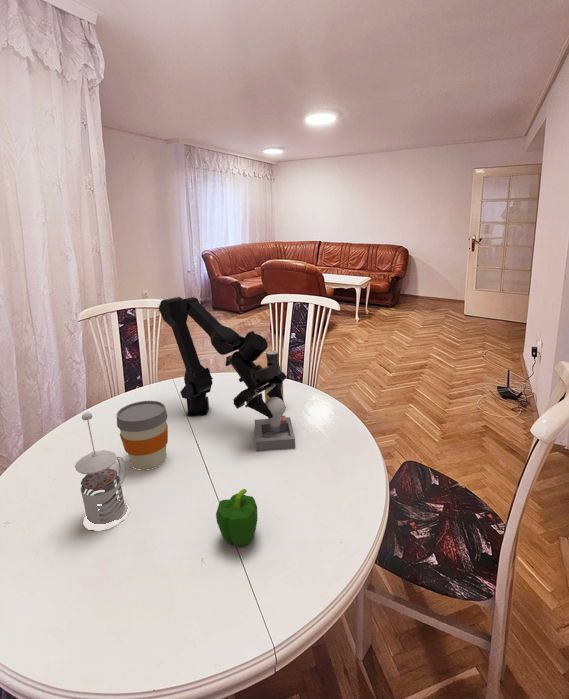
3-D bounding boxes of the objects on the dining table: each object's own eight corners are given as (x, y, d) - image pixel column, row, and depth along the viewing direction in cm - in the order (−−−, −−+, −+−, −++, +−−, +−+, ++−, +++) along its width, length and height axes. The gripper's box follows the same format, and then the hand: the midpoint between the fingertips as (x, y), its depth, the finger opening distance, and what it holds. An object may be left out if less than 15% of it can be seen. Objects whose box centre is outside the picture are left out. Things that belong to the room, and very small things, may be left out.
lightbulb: (283, 438, 113) (282, 403, 109) (262, 436, 114) (261, 401, 111) (287, 428, 118) (286, 394, 115) (267, 426, 120) (266, 392, 116)
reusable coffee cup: (140, 446, 115) (132, 398, 111) (180, 450, 113) (174, 401, 108) (114, 472, 104) (104, 420, 99) (158, 476, 101) (150, 423, 97)
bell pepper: (231, 560, 75) (227, 516, 72) (211, 534, 82) (207, 493, 79) (268, 539, 80) (266, 497, 77) (247, 517, 86) (244, 477, 83)
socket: (256, 451, 111) (255, 439, 110) (255, 428, 123) (254, 417, 122) (295, 448, 112) (295, 436, 111) (290, 425, 124) (290, 414, 123)
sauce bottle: (283, 411, 134) (281, 355, 128) (264, 412, 134) (262, 356, 128) (284, 403, 140) (282, 349, 134) (266, 403, 140) (263, 349, 134)
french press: (71, 525, 86) (47, 420, 78) (112, 492, 96) (94, 396, 88) (107, 536, 82) (84, 428, 75) (145, 501, 92) (129, 402, 85)
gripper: (238, 364, 104) (273, 413, 101) (281, 345, 118) (312, 388, 116) (219, 385, 111) (251, 431, 108) (261, 365, 125) (290, 406, 122)
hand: (278, 413), depth 113 cm, fingers closed on lightbulb, 6 cm apart
